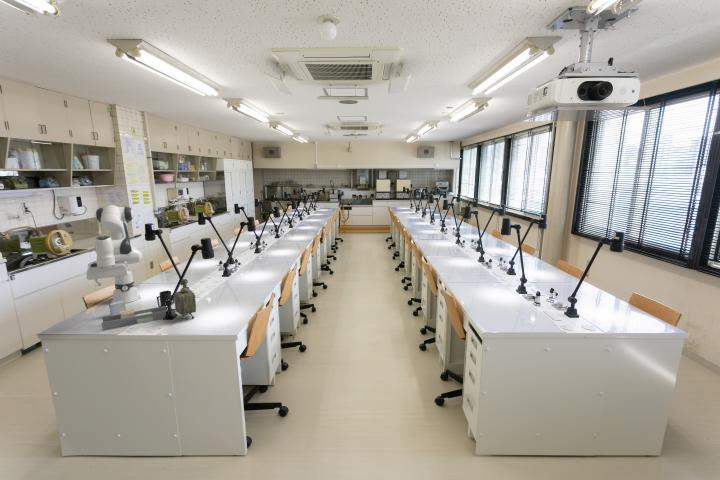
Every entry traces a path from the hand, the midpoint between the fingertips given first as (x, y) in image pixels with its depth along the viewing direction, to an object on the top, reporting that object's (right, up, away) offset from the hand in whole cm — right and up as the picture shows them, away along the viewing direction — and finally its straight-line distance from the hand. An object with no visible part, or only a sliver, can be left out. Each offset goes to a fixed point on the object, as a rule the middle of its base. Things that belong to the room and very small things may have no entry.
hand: (109, 284), depth 205 cm
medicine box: (-9, -24, +20) cm, 32 cm away
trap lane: (+10, -25, +10) cm, 29 cm away
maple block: (+7, -23, +7) cm, 25 cm away
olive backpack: (+39, -25, +17) cm, 49 cm away
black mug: (+16, -22, +31) cm, 41 cm away
